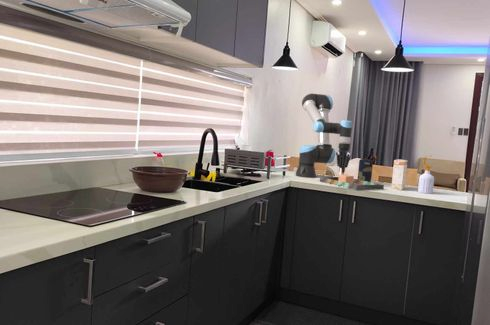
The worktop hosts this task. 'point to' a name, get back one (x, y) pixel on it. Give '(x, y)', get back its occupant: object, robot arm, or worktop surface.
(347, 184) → the trap channel
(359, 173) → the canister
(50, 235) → the worktop surface
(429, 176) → the soap bottle
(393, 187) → the coffeecake box
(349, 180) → the block
